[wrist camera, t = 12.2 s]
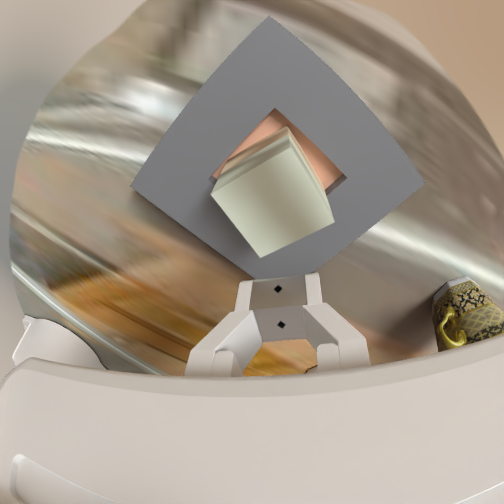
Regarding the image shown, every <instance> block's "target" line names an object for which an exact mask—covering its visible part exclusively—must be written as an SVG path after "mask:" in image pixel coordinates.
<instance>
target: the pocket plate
mask: <svg viewBox="0 0 504 504" xmlns="http://www.w3.org/2000/svg"><path fill="white" fill-rule="evenodd" d="M285 125H288V127H289V129H290V130H291V132H292V133H293V135H294V136H295V138H296V140H297V141H298V143H299V144H300V146H301V148H302V149H303V151H304V153H305V154H306V156H307V157H308V159H309V161H310V162H311V164H312V166H313V168H314V169H315V171H316V173H317V174H318V176H319V178H320V180H321V181H322V184H323V187H324V190H325V193H326V196H327V199H328V202H329V205H330V209H331V212H332V215H333V218H334V221H335V222H334V223H332V224H330V225H328V226H326V227H324V228H322V229H320V230H318V231H316V232H314V233H312V234H309V235H307V236H305V237H303V238H301V239H299V240H297V241H295V242H293V243H291V244H289V245H287V246H284V247H282V248H280V249H278V250H276V251H274V252H272V253H270V254H268V255H266V256H264V257H261V258H260V257H259V256H258V254H257V253H256V252H255V251H254V249H253V248H252V247H251V245H250V244H249V243H248V242H247V240H246V239H245V238H244V236H243V235H242V234H241V233H240V231H239V230H238V229H237V227H236V226H235V225H234V224H233V222H232V221H231V220H230V219H229V217H228V216H227V215H226V213H225V212H224V211H223V210H222V208H221V207H220V206H219V204H218V203H217V202H216V201H215V199H214V198H213V197H212V195H211V192H212V190H213V188H214V186H215V184H216V182H217V180H218V178H219V176H220V174H221V172H222V170H223V168H224V166H225V164H226V162H227V160H228V159H230V158H231V157H233V156H235V155H236V154H238V153H239V152H241V151H243V150H244V149H246V148H248V147H249V146H251V145H253V144H254V143H256V142H258V141H259V140H261V139H263V138H264V137H266V136H268V135H270V134H271V133H273V132H275V131H277V130H278V129H280V128H282V127H284V126H285ZM424 183H426V182H425V181H424V179H423V178H422V176H421V175H420V174H419V172H418V171H417V169H416V168H415V166H414V165H413V163H412V162H411V161H410V159H409V158H408V157H407V155H406V154H405V152H404V151H403V150H402V148H401V147H400V146H399V144H398V143H397V142H396V141H395V139H394V138H393V137H392V135H391V134H390V133H389V132H388V130H387V129H386V128H385V127H384V126H383V124H382V123H381V122H380V121H379V120H378V118H377V117H376V116H375V115H374V114H373V112H372V111H371V110H370V109H369V108H368V107H367V106H366V105H365V103H364V102H363V101H362V100H361V99H360V98H359V97H358V96H357V95H356V94H355V92H354V91H353V90H352V89H351V88H350V87H349V86H348V85H347V84H346V83H345V82H344V81H343V80H342V79H341V78H340V77H339V76H338V75H337V74H336V73H335V72H334V71H333V70H332V69H331V68H330V67H329V66H328V65H327V64H326V63H325V62H324V61H323V60H321V59H320V58H319V57H318V56H317V55H316V54H315V53H314V52H313V51H312V50H311V49H309V48H308V47H307V46H306V45H305V44H304V43H302V42H301V41H300V40H299V39H298V38H297V37H295V36H294V35H293V34H292V33H291V32H289V31H288V30H287V29H286V28H284V27H283V26H282V25H281V24H279V23H278V22H277V21H275V20H274V19H273V18H271V17H270V16H268V17H267V18H266V19H265V20H264V21H263V22H262V23H261V24H260V25H259V26H258V27H257V28H256V29H255V30H254V31H253V32H252V33H251V34H250V35H249V36H248V37H247V38H246V39H245V40H244V41H243V42H242V43H241V44H240V45H239V46H238V47H237V48H236V49H235V50H234V51H233V52H232V53H231V54H230V55H229V56H228V57H227V59H226V60H225V61H224V62H223V63H222V64H221V65H220V66H219V67H218V68H217V70H216V71H215V72H214V73H213V74H212V75H211V76H210V78H209V79H208V80H207V81H206V82H205V83H204V85H203V86H202V87H201V88H200V89H199V91H198V92H197V93H196V94H195V95H194V97H193V98H192V99H191V100H190V102H189V103H188V104H187V105H186V107H185V108H184V109H183V111H182V112H181V113H180V114H179V116H178V117H177V118H176V120H175V121H174V122H173V124H172V125H171V126H170V128H169V129H168V130H167V132H166V133H165V135H164V136H163V137H162V139H161V140H160V142H159V143H158V144H157V146H156V147H155V149H154V150H153V152H152V153H151V154H150V156H149V157H148V159H147V160H146V162H145V163H144V165H143V166H142V168H141V169H140V171H139V173H138V174H137V176H136V177H135V179H134V180H133V182H132V184H131V185H130V187H132V188H133V189H134V190H135V191H137V192H138V193H139V194H141V195H142V196H143V197H145V198H146V199H147V200H149V201H150V202H151V203H153V204H154V205H155V206H157V207H158V208H159V209H161V210H162V211H163V212H165V213H166V214H167V215H169V216H170V217H171V218H173V219H174V220H175V221H177V222H178V223H179V224H181V225H182V226H183V227H185V228H186V229H187V230H189V231H190V232H192V233H193V234H194V235H196V236H197V237H198V238H200V239H201V240H202V241H204V242H205V243H206V244H208V245H209V246H211V247H212V248H213V249H215V250H216V251H217V252H219V253H220V254H221V255H223V256H224V257H226V258H227V259H228V260H230V261H231V262H232V263H234V264H235V265H237V266H238V267H239V268H241V269H242V270H244V271H245V272H246V273H248V274H249V275H250V276H252V277H253V278H255V279H256V280H259V279H271V278H282V277H290V276H299V275H305V274H311V273H312V272H314V271H315V270H316V269H318V268H319V267H320V266H322V265H323V264H324V263H326V262H327V261H328V260H330V259H331V258H332V257H334V256H335V255H336V254H337V253H339V252H340V251H341V250H343V249H344V248H345V247H347V246H348V245H349V244H351V243H352V242H353V241H354V240H356V239H357V238H358V237H360V236H361V235H362V234H363V233H365V232H366V231H367V230H368V229H370V228H371V227H372V226H373V225H375V224H376V223H377V222H378V221H380V220H381V219H382V218H383V217H385V216H386V215H387V214H388V213H390V212H391V211H392V210H393V209H395V208H396V207H397V206H398V205H399V204H401V203H402V202H403V201H404V200H405V199H407V198H408V197H409V196H410V195H411V194H413V193H414V192H415V191H416V190H417V189H419V188H420V187H421V186H422V185H423V184H424Z"/></svg>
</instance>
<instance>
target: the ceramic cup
mask: <svg viewBox="0 0 504 504" xmlns="http://www.w3.org/2000/svg"><path fill="white" fill-rule="evenodd" d="M432 318H433V324H434V328H435V334H436V340H437V346H438V352H442V351H446V350H450V349H454V348H457V347H461V346H465V345H468V344H472V343H475V342H479V341H482V340H485V339H488V338H492V337H495V336H498V335H501V334H504V312H503V311H501V310H500V309H499V308H498V306H497V305H496V304H495V303H494V302H493V301H492V299H491V298H490V297H489V296H488V295H487V294H486V293H485V292H484V290H483V289H482V288H481V287H480V286H479V285H478V284H477V283H475V282H474V281H473V280H471V279H470V278H469V277H466V276H464V277H461V278H458V279H455V280H452V281H449V282H446V284H445V285H444V286H443V287H442V288H441V289H440V290H439V291H438V292H437V293H436V294H435V295H434V296H433V304H432Z"/></svg>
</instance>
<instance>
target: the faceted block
mask: <svg viewBox="0 0 504 504" xmlns="http://www.w3.org/2000/svg"><path fill="white" fill-rule="evenodd" d="M211 195H212V197H213V198H214V199H215V201H216V202H217V203H218V204H219V206H220V207H221V208H222V210H223V211H224V212H225V213H226V215H227V216H228V217H229V219H230V220H231V221H232V222H233V224H234V225H235V226H236V227H237V229H238V230H239V231H240V233H241V234H242V235H243V236H244V238H245V239H246V240H247V242H248V243H249V244H250V245H251V247H252V248H253V249H254V251H255V252H256V253H257V254H258V256H259V257H260V258H261V257H264V256H266V255H268V254H270V253H272V252H274V251H276V250H278V249H280V248H282V247H284V246H287V245H289V244H291V243H293V242H295V241H297V240H299V239H301V238H303V237H305V236H307V235H309V234H312V233H314V232H316V231H318V230H320V229H322V228H324V227H326V226H328V225H330V224H332V223H334V222H335V221H334V218H333V215H332V212H331V209H330V205H329V202H328V199H327V196H326V193H325V190H324V187H323V184H322V181H321V180H320V178H319V176H318V174H317V173H316V171H315V169H314V168H313V166H312V164H311V162H310V161H309V159H308V157H307V156H306V154H305V153H304V151H303V149H302V148H301V146H300V144H299V143H298V141H297V140H296V138H295V136H294V135H293V133H292V132H291V130H290V129H289V127H288V125H285V126H284V127H282V128H280V129H278V130H277V131H275V132H273V133H271V134H270V135H268V136H266V137H264V138H263V139H261V140H259V141H258V142H256V143H254V144H253V145H251V146H249V147H248V148H246V149H244V150H243V151H241V152H239V153H238V154H236V155H235V156H233V157H231V158H230V159H228V160H227V162H226V164H225V166H224V168H223V170H222V172H221V174H220V176H219V178H218V180H217V182H216V184H215V186H214V188H213V190H212V192H211Z"/></svg>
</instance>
